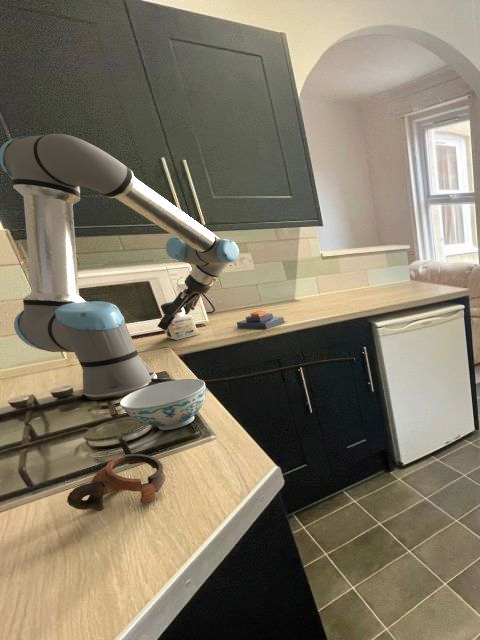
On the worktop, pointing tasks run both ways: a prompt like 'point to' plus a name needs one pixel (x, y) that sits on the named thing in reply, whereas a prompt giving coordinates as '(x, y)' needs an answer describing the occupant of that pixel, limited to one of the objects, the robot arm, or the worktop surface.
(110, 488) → the brown curved ring piece
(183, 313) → the container
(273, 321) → the blue orange stepped pyramid
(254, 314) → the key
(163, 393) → the chinaware
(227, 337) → the worktop surface
